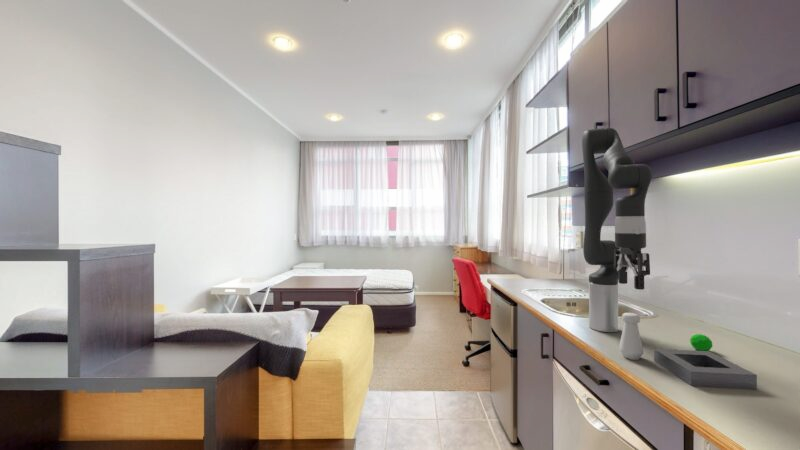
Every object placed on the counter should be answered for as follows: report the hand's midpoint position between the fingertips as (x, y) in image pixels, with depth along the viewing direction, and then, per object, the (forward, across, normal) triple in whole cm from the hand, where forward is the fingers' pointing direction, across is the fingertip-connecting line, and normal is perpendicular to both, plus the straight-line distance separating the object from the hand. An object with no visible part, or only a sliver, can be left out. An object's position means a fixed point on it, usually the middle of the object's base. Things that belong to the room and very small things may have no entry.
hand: (630, 286), depth 94 cm
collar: (+21, +9, +12) cm, 26 cm away
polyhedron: (+21, -8, +24) cm, 33 cm away
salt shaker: (+21, 0, 0) cm, 21 cm away
